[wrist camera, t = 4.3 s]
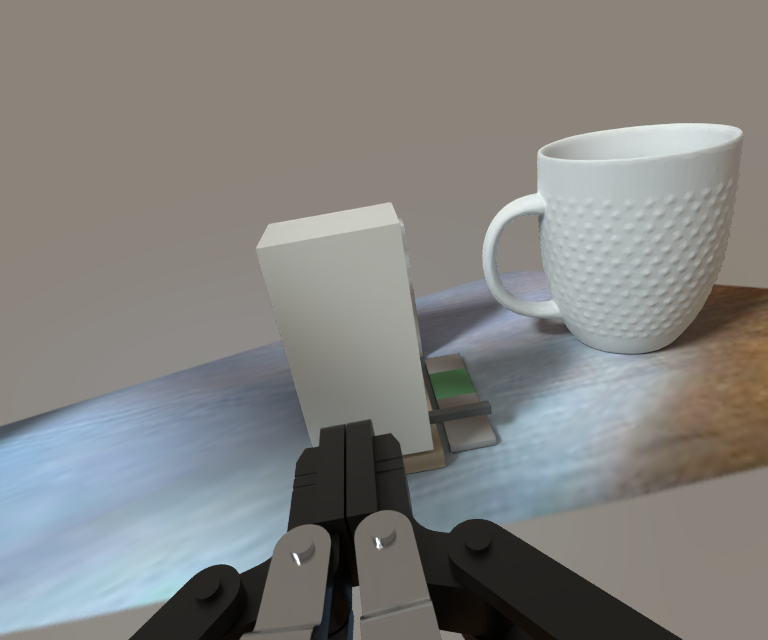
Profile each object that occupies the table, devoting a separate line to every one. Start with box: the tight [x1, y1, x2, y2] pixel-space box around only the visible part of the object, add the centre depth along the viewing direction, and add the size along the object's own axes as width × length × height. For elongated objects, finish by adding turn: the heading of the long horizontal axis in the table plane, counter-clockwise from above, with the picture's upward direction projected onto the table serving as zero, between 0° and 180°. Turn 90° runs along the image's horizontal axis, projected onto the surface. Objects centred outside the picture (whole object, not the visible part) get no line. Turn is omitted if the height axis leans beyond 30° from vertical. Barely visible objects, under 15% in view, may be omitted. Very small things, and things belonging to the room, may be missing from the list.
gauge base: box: [397, 217, 497, 474], centre depth 30 cm, size 14×10×10 cm
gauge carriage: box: [256, 202, 491, 455], centre depth 25 cm, size 4×10×12 cm, turn 94°
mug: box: [482, 123, 744, 354], centre depth 33 cm, size 15×11×13 cm
